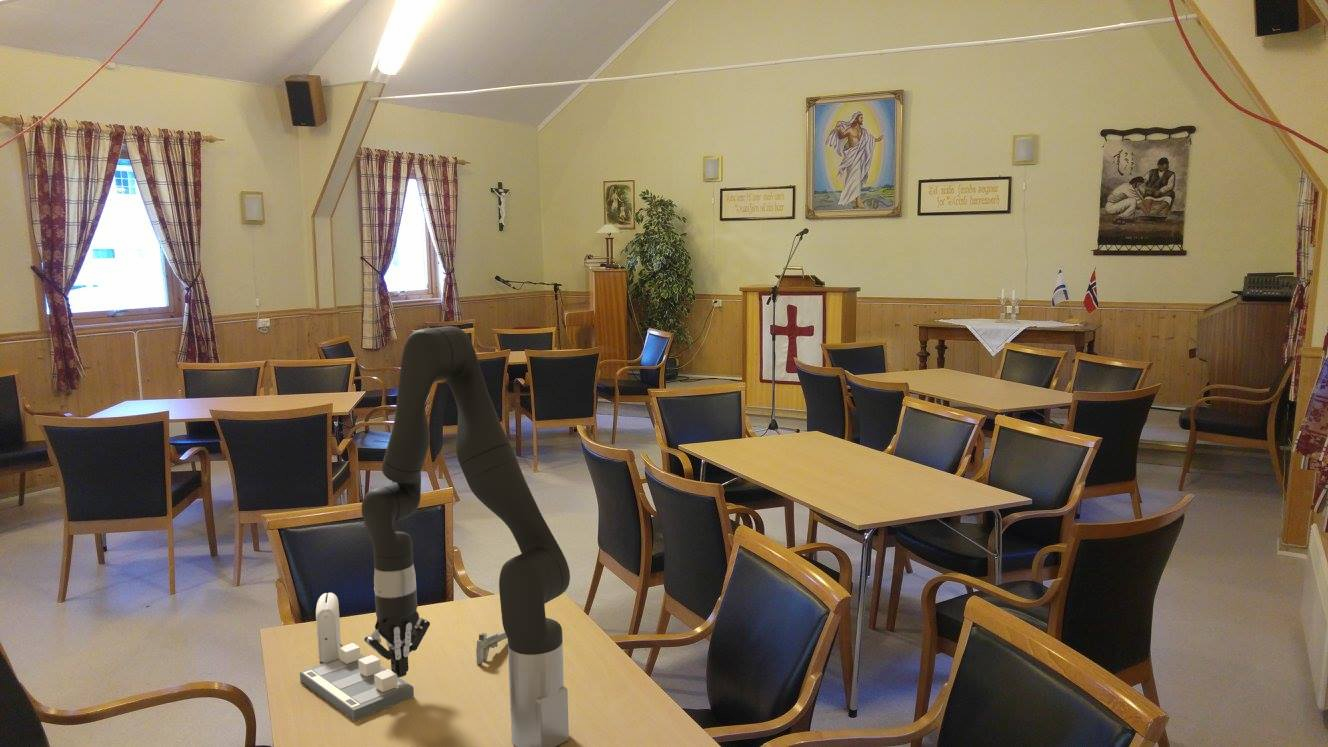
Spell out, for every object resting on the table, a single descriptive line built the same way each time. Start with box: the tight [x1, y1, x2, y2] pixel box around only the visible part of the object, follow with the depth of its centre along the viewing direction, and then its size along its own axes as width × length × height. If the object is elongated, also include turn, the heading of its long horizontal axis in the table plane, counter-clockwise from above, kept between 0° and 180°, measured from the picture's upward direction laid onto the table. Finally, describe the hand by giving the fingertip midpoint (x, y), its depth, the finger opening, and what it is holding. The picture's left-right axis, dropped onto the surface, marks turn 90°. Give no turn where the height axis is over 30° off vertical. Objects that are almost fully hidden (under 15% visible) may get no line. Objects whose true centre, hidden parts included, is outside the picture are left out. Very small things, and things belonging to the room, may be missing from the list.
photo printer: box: [315, 592, 342, 664], centre depth 188 cm, size 10×4×12 cm, turn 17°
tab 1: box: [339, 642, 361, 664], centre depth 181 cm, size 3×3×2 cm
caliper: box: [475, 630, 508, 665], centre depth 192 cm, size 20×1×6 cm, turn 161°
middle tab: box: [358, 654, 382, 677], centre depth 175 cm, size 3×3×2 cm
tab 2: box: [374, 668, 398, 692], centre depth 169 cm, size 3×3×2 cm
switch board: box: [299, 653, 415, 721], centre depth 173 cm, size 22×12×2 cm, turn 46°
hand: (400, 675), depth 171 cm, fingers closed
